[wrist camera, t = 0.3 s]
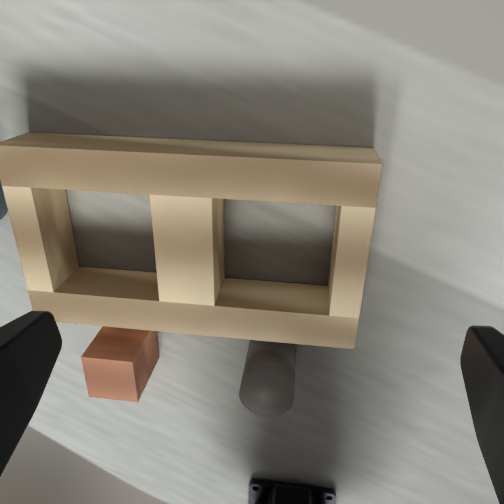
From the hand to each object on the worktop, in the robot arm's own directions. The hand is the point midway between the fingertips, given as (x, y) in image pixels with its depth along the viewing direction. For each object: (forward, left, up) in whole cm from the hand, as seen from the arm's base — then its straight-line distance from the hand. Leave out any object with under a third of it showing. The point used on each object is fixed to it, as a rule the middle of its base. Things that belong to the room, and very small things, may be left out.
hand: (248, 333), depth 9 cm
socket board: (-6, +5, -14) cm, 16 cm away
